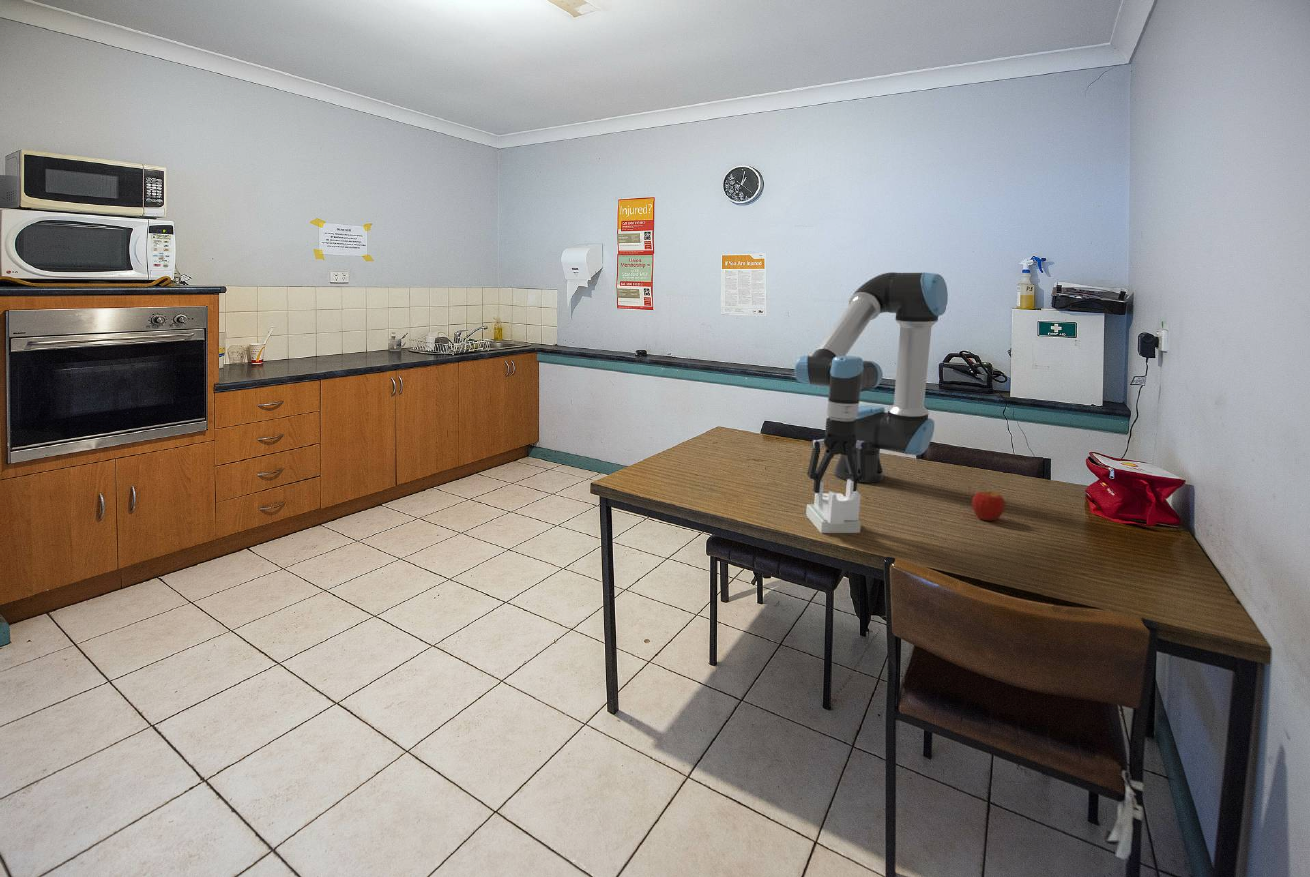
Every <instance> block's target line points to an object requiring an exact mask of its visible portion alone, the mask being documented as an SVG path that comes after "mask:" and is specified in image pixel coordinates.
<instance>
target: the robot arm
mask: <svg viewBox="0 0 1310 877" xmlns="http://www.w3.org/2000/svg"><path fill="white" fill-rule="evenodd" d="M948 294H949V293H948V286H947V283H946V280H945V279H944V276H942V275H941V274H939V273H931V272H886V273H881V274H879V275H877V276H875V277H873V278H870V279H869V280H867V281H865V283H863V284H862V285H861V286H859V287H858V288H857V289H856V290H855V291H854V293H853V294H852V295H851V296H850V298H849V299H848V307H847V308H846V309H845V310H844V312H843V313H842V315H841V316H840V317H839V318H838V320H837V321H836V323H835V324H834V325H833V327H832V329H830V331H829V332H828V334H827V335H826V336H825V337H824V339H823V341H822V342H821V343H820V344H819V345H818V347H817V348H816V350H815V351H814V352H813V353H812V355H811V356H810V355H809V354H808V355H802V356H800V357H799V358H797V360H796V362H795V365H794V376H795V378H796V381H798V382H799V383H801V384H806V385H810V386H812V385H813V386H819V387H820V386H822V387H828V388H829V390H828V400H827V402H828V403H827V409H826V415H827V418H826V421H825V430H824V431H825V432H824V433H825V434H824V436H823V438H821V439H812V440H811V444H812V451H811V455H810V460H809V465H808V469H807V473H806V474H807V477H808V478H809V479H811V480H813V488H812V489H813V492H814V493H816V504H817V505H818V506H822V497H823V493H824V485H825V484H824V483H825V482H824V481H823V480H822V479H823V477H824V475H825V472H826V471H827V469H828V466H829V465H830V462H831V460H832V459H833V458H834V456H838V455H839V457H838V460H837V461H836V463H835V466H834V476H836V477H838V478H839V479H842V480H845V481H846V486H845V487H846V488H845V489H846V490H845V497H846V498H847V499H850V498H851V496H852V495H853V491H857V488H858V483H865V484H867V483H869V484H870V483H876V482H877V483H878V482H881V481H883V477H884V476H883V475H884V470H883V466H882V460H881V456H880V450H884V451H888V452H889V451H890V452H894V453H895V452H896V453H900V454H905V455H911V456H912V455H913V456H920V455H922V454H924V453H925V452H926V451H927V449H928V448H929V445H930V444H931V441H932V439H933V436H934V435H933V434H934V431H935V420H934V419H932V418H930V417H929V414H930V413H929V412H930V411H929V410H928V409H927V408H926V407H925V399H926V388H927V386H926V385H927V378H928V366H929V356H930V347H931V346H930V345H931V337H932V327H933V326H934V325H935V324H936V323H938V321H939V317H940V316H943V315H944V314H945V313H946V310H947V306H948V300H949V299H948V298H949V297H948V296H949V295H948ZM884 313H890V314H895V318H894V320H895V322H896V323H898V325H899V326H900V327H899V340H898V350H897V351H898V352H897V360H896V361H897V364H896V371H895V372H896V374H895V384H894V386H895V387H894V398H893V404H892V405H891V406H890V407H889V408H888V410H887V412H886V410H885V407H884V406H881V405H860V398H861V392H867V391H871V390H873V389H875V388H877V387H878V386H879V385H880V384H881V382H882V380H883V370H882V368H881V366H880V365H879V364H878V363H877V362H875V361H871V360H863V359H862V358H861V357H859V356H852V355H847V354H848V353H849V352H850V350H851V349H852V347H854V344H856V342H857V340H858V338H860V336H861V335H862V333H863V332H864V331H865V329H866V328H867V326H868V325H869V323H870V322H871V321H873V320H875V319H876V318H877V317H878V316H879V315H880V314H884ZM823 445H825V450H824V454H823V456H822V459H821V461H820V463H819V458H820V454H821V449H822V448H823ZM818 463H819V465H818Z"/></svg>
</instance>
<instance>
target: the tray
mask: <svg viewBox="0 0 1310 877" xmlns="http://www.w3.org/2000/svg"><path fill="white" fill-rule="evenodd" d="M805 516H807V518H808V519H809V520H810V521H811V523H812V524H813V525H814V527H816V529H817V530H818V531H819V532H820V534H860V533H861V525H862V524H861V523H862V522H861V520H860V519H859V518H858V520H844V524H830V523H829V522H828V521H827V520H826V519H825V518H824V517H823V515H822V514H821V513H820V512H819V511H818V510H817V509H816V508H815V506H814V503H808V504H806V513H805Z"/></svg>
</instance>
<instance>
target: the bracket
mask: <svg viewBox="0 0 1310 877" xmlns="http://www.w3.org/2000/svg"><path fill="white" fill-rule="evenodd" d="M814 493H815V492H814ZM861 496H862V494H861V493H860V492H859V491H857V490H856V491H853V495H852V496H851V498H850V499H847V498H846V495H843V494H842V493H841V492H840V493H836V492H834V491H833V490H831V491H830V490H829V491H828V493H827V492H825V493H824V492H823V497H822V506H818V505H817V504H816V493H815V494H814V500H813V501H814V503H813V504H814V506H815V508H816V509H817V510H818V511H819V512H820V513H821V514H822V515H823V517H824V518H825V519H826V520H827V521H828V522H829V523H830V524H844V520H858V519H859V517H860V516H859V515H860V508H861V507H860V506H861V505H860V504H861Z"/></svg>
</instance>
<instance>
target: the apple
mask: <svg viewBox="0 0 1310 877" xmlns="http://www.w3.org/2000/svg"><path fill="white" fill-rule="evenodd" d="M971 504H972V505H971V506H972V510H973V511H974V515H975V516H976V517H977V518H979V519H980V520H983V521H995V520H998V519H999V518H1000V517H1001V516H1002V515H1003V513H1004V512H1005V508H1006V502H1005V500H1004V498H1003V497H1002V495H1001V494H1000V493H996V492H993V491H979V492H977V493H976V494H974V496H973V497H972V501H971Z"/></svg>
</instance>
